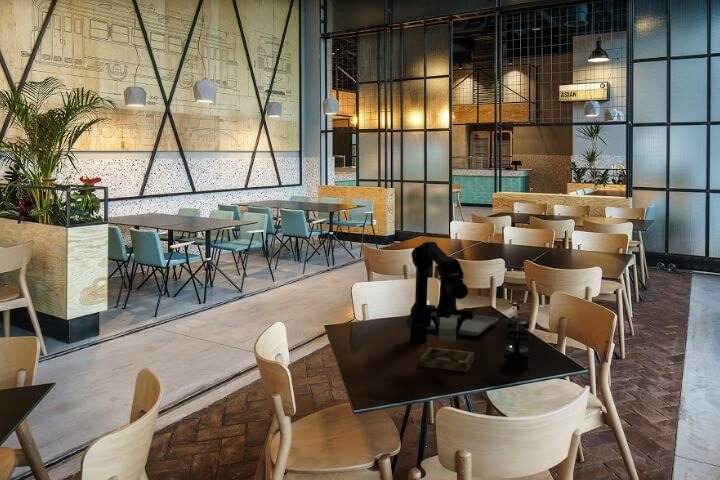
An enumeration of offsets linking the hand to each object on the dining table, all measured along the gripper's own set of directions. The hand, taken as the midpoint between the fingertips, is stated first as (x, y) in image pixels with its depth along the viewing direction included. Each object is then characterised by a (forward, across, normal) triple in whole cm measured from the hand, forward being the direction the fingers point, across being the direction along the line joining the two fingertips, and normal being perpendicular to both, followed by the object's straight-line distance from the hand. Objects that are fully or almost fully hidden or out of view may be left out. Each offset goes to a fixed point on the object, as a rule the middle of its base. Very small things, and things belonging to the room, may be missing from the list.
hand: (447, 334), depth 218 cm
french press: (+11, +24, +7) cm, 27 cm away
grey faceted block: (+1, 0, 0) cm, 1 cm away
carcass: (+11, 0, 0) cm, 11 cm away
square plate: (+12, -6, +49) cm, 51 cm away
